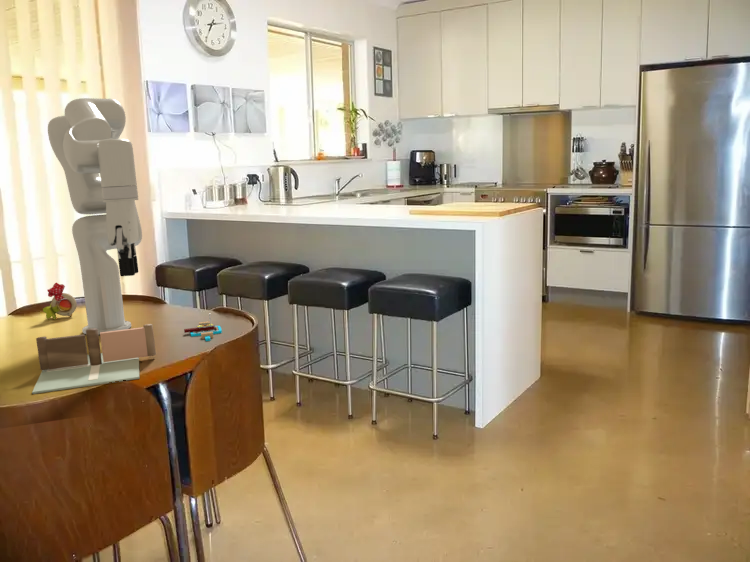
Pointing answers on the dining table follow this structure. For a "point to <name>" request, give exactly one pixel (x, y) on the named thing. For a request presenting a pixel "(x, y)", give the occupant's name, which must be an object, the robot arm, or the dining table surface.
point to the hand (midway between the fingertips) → (129, 273)
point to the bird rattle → (66, 304)
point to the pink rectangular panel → (128, 343)
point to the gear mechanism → (207, 328)
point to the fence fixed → (69, 350)
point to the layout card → (87, 375)
